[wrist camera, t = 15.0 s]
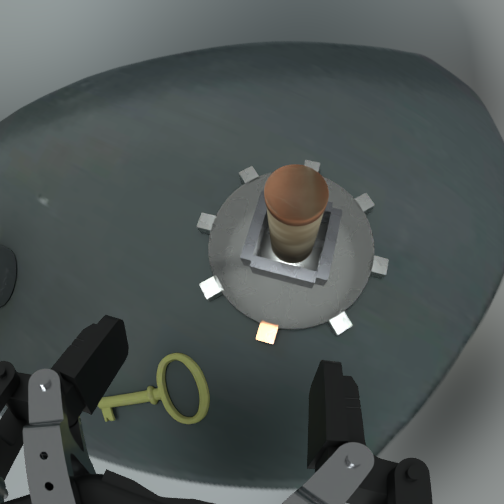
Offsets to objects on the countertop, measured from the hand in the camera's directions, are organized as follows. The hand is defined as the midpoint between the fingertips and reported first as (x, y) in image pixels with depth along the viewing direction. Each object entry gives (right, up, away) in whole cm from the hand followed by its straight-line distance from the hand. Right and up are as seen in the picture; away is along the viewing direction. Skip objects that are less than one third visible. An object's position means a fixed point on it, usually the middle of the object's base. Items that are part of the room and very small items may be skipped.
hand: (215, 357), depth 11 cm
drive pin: (+5, +5, +17) cm, 18 cm away
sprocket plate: (+5, +5, +18) cm, 20 cm away
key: (-8, -10, +16) cm, 21 cm away
